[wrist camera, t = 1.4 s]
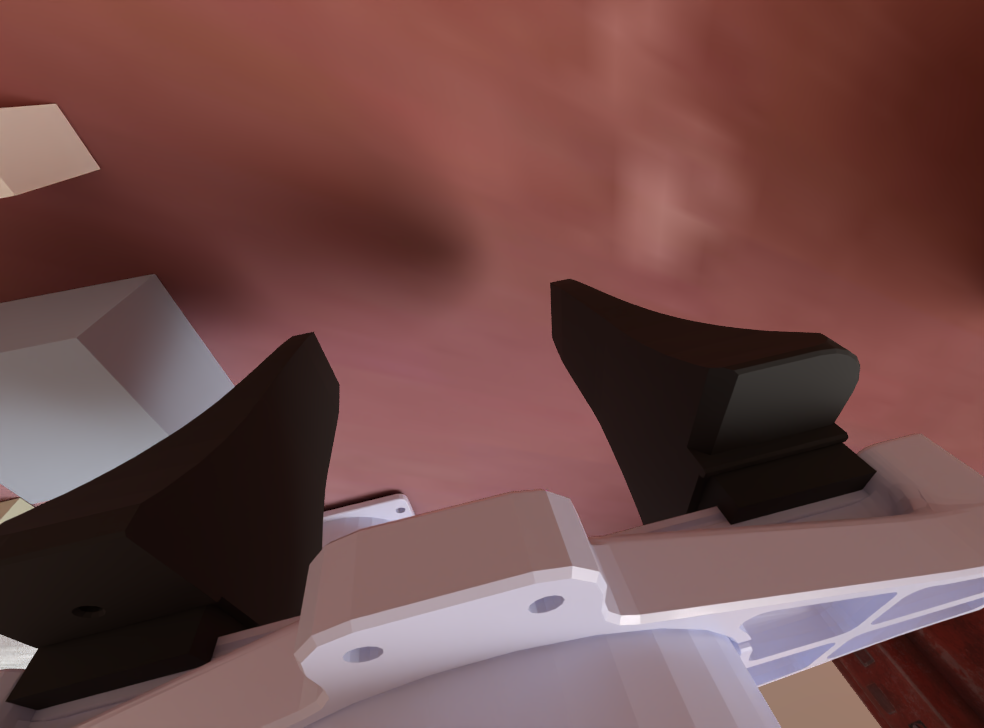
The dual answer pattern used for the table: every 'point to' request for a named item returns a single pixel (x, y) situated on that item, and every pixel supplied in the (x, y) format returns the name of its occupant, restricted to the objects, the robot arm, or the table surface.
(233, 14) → the table surface
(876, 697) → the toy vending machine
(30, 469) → the block
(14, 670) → the robot arm
